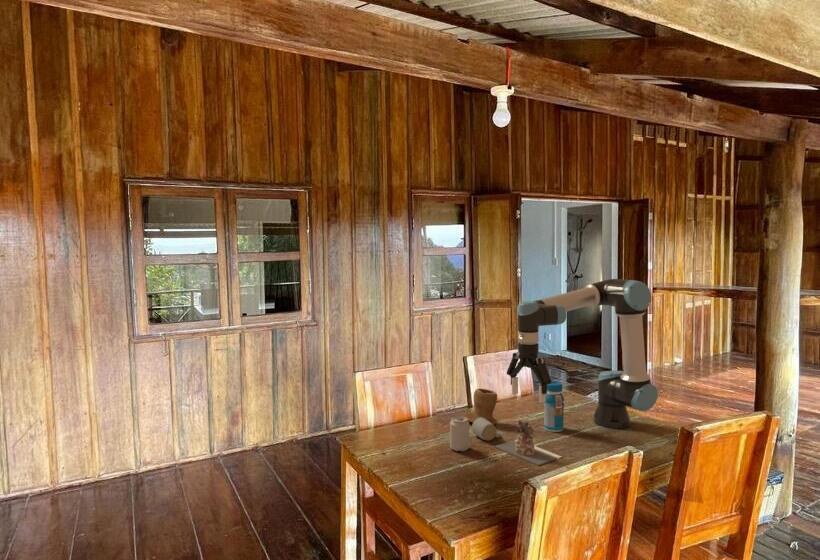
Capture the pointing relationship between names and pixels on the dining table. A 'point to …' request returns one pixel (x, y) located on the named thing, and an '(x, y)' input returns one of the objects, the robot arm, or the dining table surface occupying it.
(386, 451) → the dining table surface
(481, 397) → the brown boot planter
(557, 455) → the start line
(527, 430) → the figurine
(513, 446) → the mat
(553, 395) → the beverage bottle
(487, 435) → the ceramic mug
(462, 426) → the can
